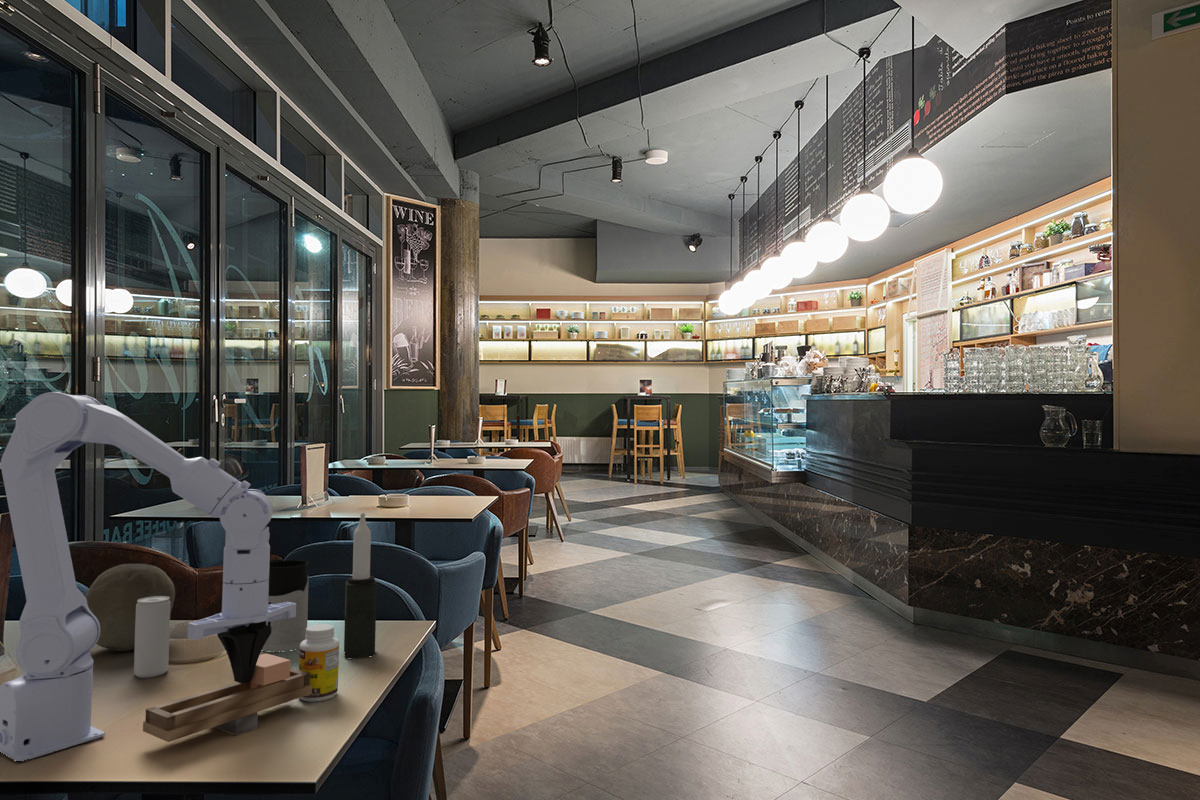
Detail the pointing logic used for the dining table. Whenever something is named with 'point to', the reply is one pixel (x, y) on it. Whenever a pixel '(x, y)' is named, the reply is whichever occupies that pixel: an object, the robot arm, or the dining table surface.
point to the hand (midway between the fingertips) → (243, 681)
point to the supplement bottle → (320, 661)
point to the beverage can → (152, 636)
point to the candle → (360, 598)
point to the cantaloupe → (124, 601)
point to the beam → (223, 707)
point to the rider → (270, 670)
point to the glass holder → (288, 587)
